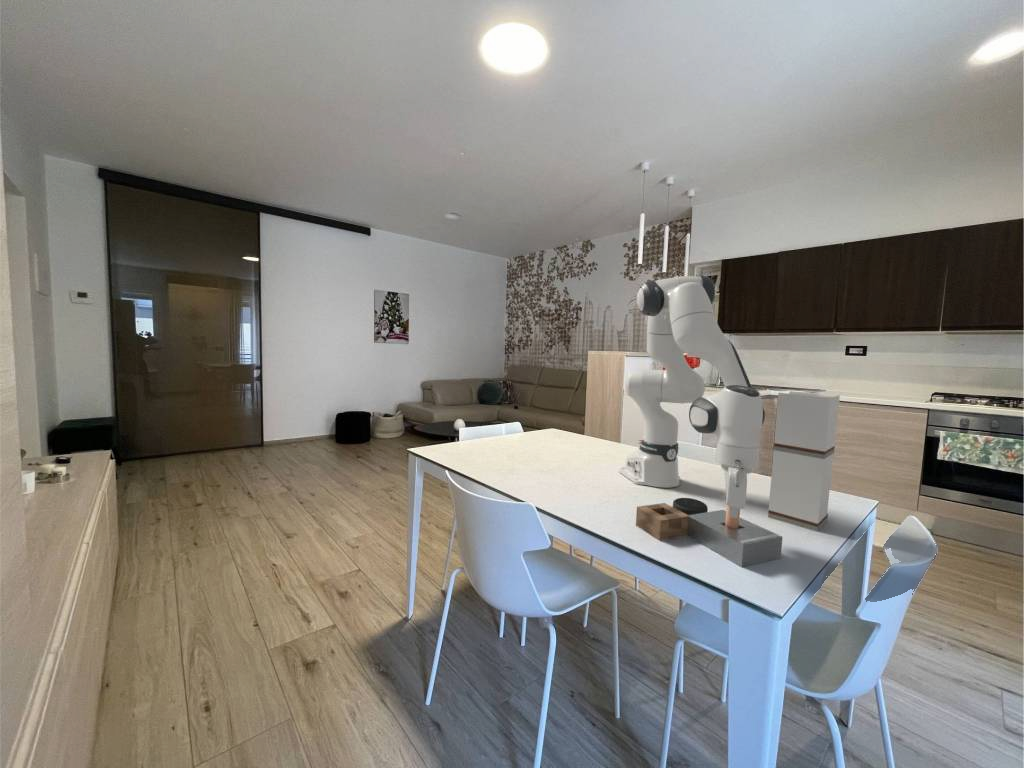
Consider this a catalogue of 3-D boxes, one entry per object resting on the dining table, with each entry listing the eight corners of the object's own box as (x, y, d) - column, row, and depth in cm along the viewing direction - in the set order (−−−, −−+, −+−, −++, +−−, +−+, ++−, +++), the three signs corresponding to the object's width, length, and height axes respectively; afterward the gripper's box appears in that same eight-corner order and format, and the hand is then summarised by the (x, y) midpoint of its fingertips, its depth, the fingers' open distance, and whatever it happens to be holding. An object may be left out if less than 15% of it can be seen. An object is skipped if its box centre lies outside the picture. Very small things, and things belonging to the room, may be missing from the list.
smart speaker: (689, 508, 121) (690, 495, 121) (714, 520, 113) (715, 506, 113) (665, 512, 118) (666, 498, 118) (689, 525, 110) (690, 510, 109)
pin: (722, 542, 98) (725, 497, 97) (726, 538, 100) (729, 494, 99) (735, 546, 96) (738, 500, 95) (738, 542, 98) (742, 497, 97)
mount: (635, 525, 108) (636, 506, 108) (663, 520, 112) (664, 502, 111) (659, 540, 100) (660, 520, 100) (688, 535, 103) (689, 516, 103)
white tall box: (827, 520, 115) (839, 395, 111) (817, 531, 108) (830, 397, 104) (780, 508, 123) (790, 391, 120) (767, 517, 116) (778, 393, 113)
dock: (685, 534, 103) (686, 514, 103) (721, 528, 108) (723, 509, 107) (741, 567, 89) (743, 543, 88) (780, 558, 93) (782, 535, 92)
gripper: (756, 469, 86) (750, 533, 87) (750, 448, 104) (745, 502, 105) (722, 464, 88) (717, 527, 90) (722, 445, 107) (718, 497, 108)
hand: (732, 513), depth 98 cm, fingers closed on pin, 3 cm apart
